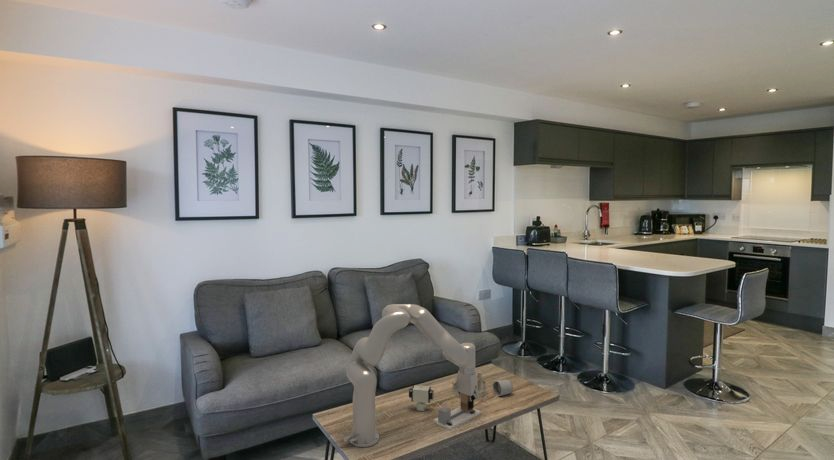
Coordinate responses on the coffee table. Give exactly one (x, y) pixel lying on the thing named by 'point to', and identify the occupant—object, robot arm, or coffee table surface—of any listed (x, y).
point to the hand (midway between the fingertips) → (467, 406)
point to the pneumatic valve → (421, 396)
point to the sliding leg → (465, 402)
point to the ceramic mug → (502, 387)
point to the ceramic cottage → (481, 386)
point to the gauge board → (454, 417)
